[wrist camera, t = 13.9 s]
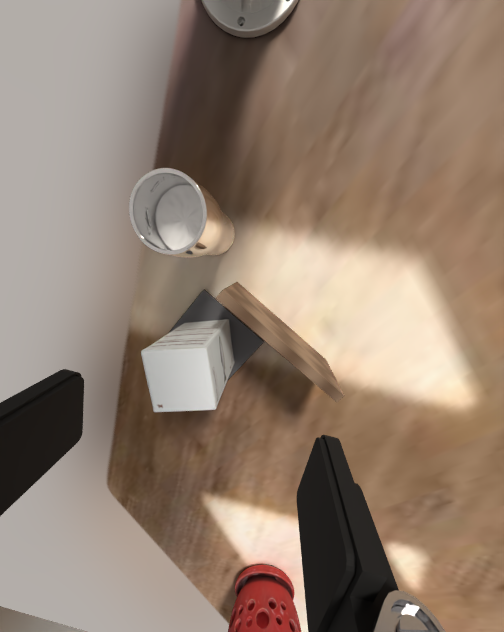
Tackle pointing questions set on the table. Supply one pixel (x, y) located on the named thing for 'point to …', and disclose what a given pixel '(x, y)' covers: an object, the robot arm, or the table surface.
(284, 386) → the table surface
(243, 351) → the mat
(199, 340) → the supplement box
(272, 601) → the plant pot
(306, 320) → the table surface
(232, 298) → the wood grain panel
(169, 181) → the metal tumbler
